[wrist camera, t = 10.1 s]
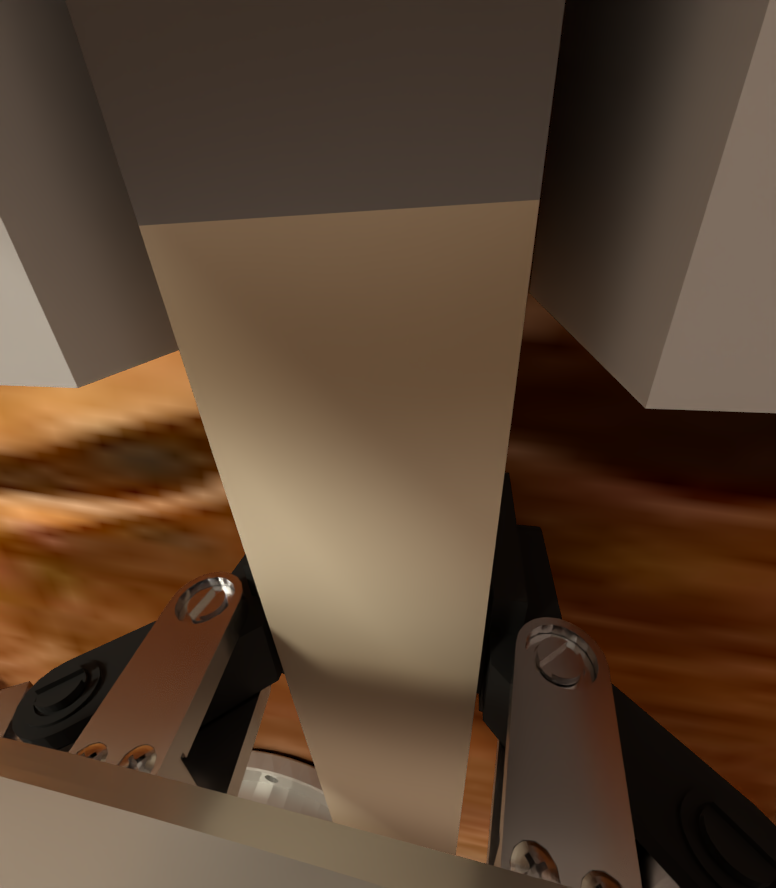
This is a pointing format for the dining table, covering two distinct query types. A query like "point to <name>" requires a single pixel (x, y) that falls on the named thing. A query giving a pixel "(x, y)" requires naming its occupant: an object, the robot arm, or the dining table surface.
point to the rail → (348, 333)
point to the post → (560, 218)
